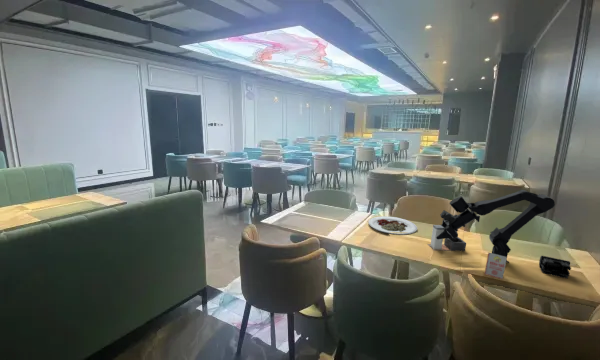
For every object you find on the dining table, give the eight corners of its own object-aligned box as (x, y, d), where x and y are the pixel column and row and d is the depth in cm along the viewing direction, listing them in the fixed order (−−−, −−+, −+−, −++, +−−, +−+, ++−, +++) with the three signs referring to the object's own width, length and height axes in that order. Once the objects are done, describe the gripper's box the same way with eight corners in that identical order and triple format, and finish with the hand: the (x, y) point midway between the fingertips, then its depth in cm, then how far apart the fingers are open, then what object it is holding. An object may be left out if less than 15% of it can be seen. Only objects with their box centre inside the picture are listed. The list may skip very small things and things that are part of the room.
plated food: (415, 240, 163) (415, 235, 162) (363, 230, 175) (363, 225, 175) (418, 223, 189) (418, 219, 188) (373, 216, 202) (373, 211, 201)
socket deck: (465, 252, 148) (467, 243, 147) (433, 252, 148) (434, 242, 147) (457, 246, 156) (458, 236, 155) (426, 245, 156) (428, 236, 155)
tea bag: (485, 270, 131) (488, 251, 129) (502, 275, 127) (506, 255, 125) (484, 274, 128) (488, 254, 126) (502, 279, 124) (506, 258, 122)
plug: (441, 249, 150) (444, 227, 147) (433, 248, 150) (436, 227, 147) (437, 245, 154) (440, 225, 151) (430, 245, 154) (433, 224, 151)
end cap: (565, 272, 132) (568, 259, 130) (569, 279, 126) (573, 265, 124) (537, 266, 137) (540, 253, 135) (540, 272, 131) (543, 259, 129)
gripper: (450, 202, 153) (425, 217, 160) (454, 212, 136) (426, 229, 143) (464, 218, 152) (439, 233, 159) (470, 230, 135) (441, 246, 142)
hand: (436, 235), depth 151 cm, fingers open, 9 cm apart
